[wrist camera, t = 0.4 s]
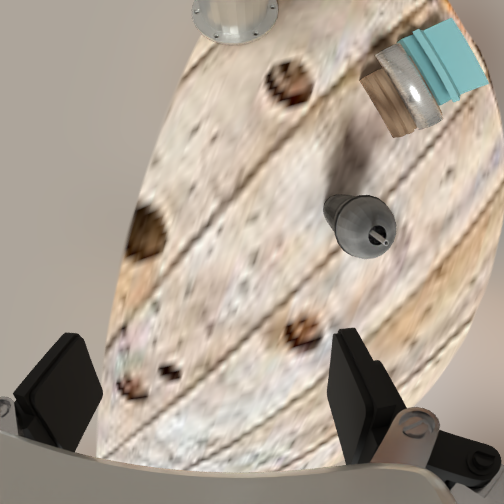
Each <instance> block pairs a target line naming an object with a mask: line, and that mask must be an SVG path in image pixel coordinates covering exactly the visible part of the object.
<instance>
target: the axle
mask: <svg viewBox="0 0 504 504" xmlns="http://www.w3.org/2000/svg"><path fill="white" fill-rule="evenodd" d="M375 57H376V58H377V60H378V61H379V63H380V64H381V66H382V67H383V69H384V71H385V72H386V74H387V75H388V77H389V79H390V80H391V82H392V83H393V85H394V87H395V88H396V90H397V92H398V94H399V95H400V97H401V99H402V101H403V102H404V104H405V106H406V108H407V110H408V111H409V113H410V115H411V117H412V119H413V121H414V123H415V125H416V127H417V128H418V129H419V130H420V129H424V128H428V127H430V126H432V125H435V124H437V123H438V122H440V121H441V120H442V119H443V117H442V115H441V113H440V111H439V109H438V107H437V105H436V103H435V101H434V99H433V97H432V95H431V93H430V91H429V90H428V88H427V86H426V84H425V82H424V81H423V79H422V77H421V75H420V74H419V72H418V70H417V69H416V67H415V65H414V64H413V62H412V61H411V59H410V57H409V56H408V54H407V53H406V51H405V50H404V48H403V47H402V45H401V44H400V43H398V44H395V45H393V46H390V47H388V48H386V49H384V50H382V51H381V52H379V53H377V54H376V55H375Z"/></svg>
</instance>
